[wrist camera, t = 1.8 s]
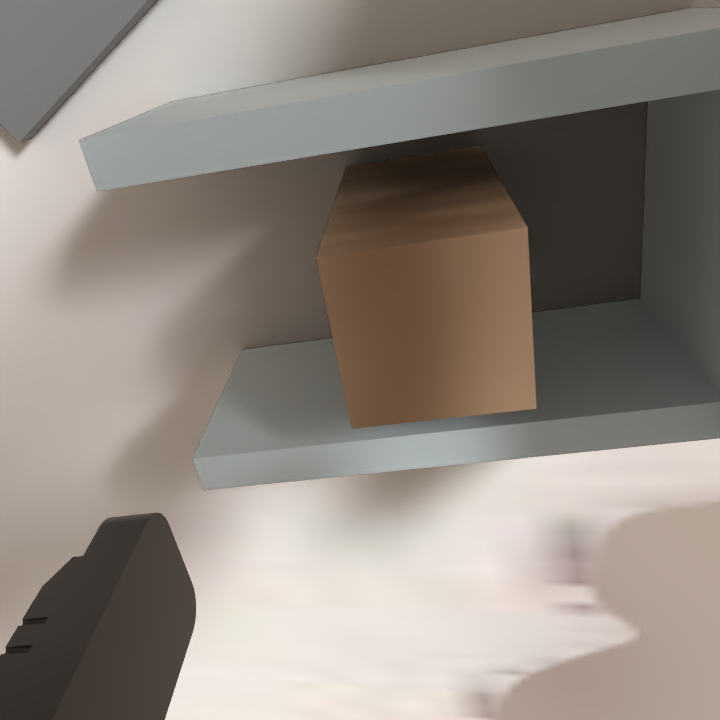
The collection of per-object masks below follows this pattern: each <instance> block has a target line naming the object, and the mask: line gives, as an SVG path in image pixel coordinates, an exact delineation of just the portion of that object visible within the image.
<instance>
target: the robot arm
mask: <svg viewBox="0 0 720 720" xmlns="http://www.w3.org/2000/svg"><path fill="white" fill-rule="evenodd" d="M195 617H196V599H195V592H194V588H193V585H192V582H191V579H190V577H189V574H188V572H187V569H186V567H185V564H184V562H183V559H182V557H181V554H180V551H179V549H178V546H177V544H176V541H175V539H174V536H173V534H172V531H171V529H170V526H169V524H168V521H167V520H166V518H165V517H164V516H163V515H162V514H160V513H150V514H140V515H130V516H121V517H111V518H108V519H106V520H105V521H104V522H103V523H102V524H101V526H100V527H99V529H98V531H97V533H96V534H95V536H94V538H93V540H92V541H91V543H90V545H89V547H88V548H87V550H86V552H85V554H84V555H83V556H80V557H73V558H72V559H70V560H69V561H68V562H67V563H66V564H65V565H64V566H63V567H62V568H61V569H60V570H59V571H58V572H57V573H56V574H55V575H54V576H53V577H52V578H51V579H50V580H49V581H48V582H47V583H45V584H44V585H43V586H42V588H41V590H40V591H39V593H38V595H37V596H36V598H35V600H34V601H33V603H32V604H31V606H30V608H29V609H28V611H27V613H26V614H25V616H24V618H23V625H22V626H18V628H17V629H16V631H15V632H14V634H13V636H12V637H11V639H10V641H9V642H8V644H7V646H6V653H5V654H1V655H0V720H165V717H166V714H167V711H168V707H169V704H170V701H171V698H172V695H173V692H174V689H175V686H176V683H177V679H178V676H179V673H180V670H181V667H182V664H183V661H184V658H185V655H186V651H187V648H188V645H189V642H190V639H191V636H192V633H193V629H194V624H195Z"/></svg>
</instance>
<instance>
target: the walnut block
mask: <svg viewBox="0 0 720 720" xmlns="http://www.w3.org/2000/svg"><path fill="white" fill-rule="evenodd" d="M316 261H317V266H318V271H319V276H320V281H321V285H322V290H323V295H324V300H325V304H326V309H327V314H328V319H329V323H330V328H331V333H332V338H333V343H334V347H335V352H336V357H337V362H338V366H339V371H340V376H341V381H342V385H343V390H344V395H345V400H346V405H347V409H348V414H349V419H350V424H351V428H352V429H356V428H365V427H374V426H383V425H392V424H401V423H410V422H420V421H429V420H438V419H447V418H456V417H465V416H474V415H483V414H493V413H502V412H511V411H520V410H529V409H537V408H536V387H535V367H534V346H533V325H532V305H531V284H530V264H529V243H528V227H527V225H526V223H525V222H524V220H523V218H522V216H521V215H520V213H519V211H518V209H517V208H516V206H515V204H514V203H513V201H512V199H511V197H510V196H509V194H508V192H507V190H506V189H505V187H504V185H503V183H502V182H501V180H500V178H499V177H498V175H497V173H496V171H495V170H494V168H493V166H492V164H491V163H490V161H489V159H488V157H487V156H486V154H485V152H484V150H483V149H482V147H481V145H479V146H473V147H467V148H461V149H454V150H448V151H442V152H436V153H429V154H423V155H417V156H411V157H405V158H398V159H392V160H386V161H380V162H374V163H367V164H361V165H355V166H349V167H346V168H345V171H344V174H343V177H342V180H341V183H340V186H339V189H338V192H337V195H336V198H335V201H334V204H333V207H332V210H331V213H330V216H329V219H328V222H327V225H326V228H325V231H324V234H323V237H322V240H321V243H320V246H319V249H318V252H317V255H316Z"/></svg>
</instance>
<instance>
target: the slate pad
mask: <svg viewBox="0 0 720 720" xmlns="http://www.w3.org/2000/svg"><path fill="white" fill-rule="evenodd" d="M156 1H157V0H0V124H1V125H2V126H3V127H4V128H5V129H6V130H7V131H8V132H9V133H10V134H11V135H12V136H13V137H14V138H15V139H16V140H17V141H18V142H19V143H20V142H23V141H25V140H28V139H31V138H32V137H33V136H34V135H35V134H36V133H37V131H38V130H39V129H40V128H41V127H42V126H43V125H44V124H45V123H46V122H47V120H48V119H49V118H50V117H51V116H52V115H53V114H54V113H55V112H56V111H57V110H58V108H59V107H60V106H61V105H62V104H63V103H64V102H65V101H66V100H67V99H68V97H69V96H70V95H71V94H72V93H73V92H74V91H75V90H76V89H77V88H78V87H79V85H80V84H81V83H82V82H83V81H84V80H85V79H86V78H87V77H88V76H89V74H90V73H91V72H92V71H93V70H94V69H95V68H96V67H97V66H98V65H99V63H100V62H101V61H102V60H103V59H104V58H105V57H106V56H107V55H108V54H109V53H110V51H111V50H112V49H113V48H114V47H115V46H116V45H117V44H118V43H119V42H120V40H121V39H122V38H123V37H124V36H125V35H126V34H127V33H128V32H129V31H130V30H131V28H132V27H133V26H134V25H135V24H136V23H137V22H138V21H139V20H140V19H141V17H142V16H143V15H144V14H145V13H146V12H147V11H148V10H149V9H150V8H151V6H152V5H153V4H154V3H155V2H156Z"/></svg>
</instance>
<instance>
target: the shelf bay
mask: <svg viewBox="0 0 720 720" xmlns="http://www.w3.org/2000/svg"><path fill="white" fill-rule="evenodd" d="M646 101H648V110H647V138H646V165H645V193H644V220H643V247H642V275H641V299H633V300H626V301H618V302H610V303H602V304H594V305H587V306H579V307H571V308H563V309H555V310H548V311H540V312H532V325H533V346H534V367H535V387H536V408H537V409H529V410H520V411H511V412H502V413H493V414H483V415H474V416H465V417H456V418H447V419H438V420H429V421H420V422H410V423H401V424H392V425H383V426H374V427H365V428H356V429H352V428H351V424H350V419H349V414H348V409H347V405H346V400H345V395H344V390H343V385H342V381H341V376H340V371H339V366H338V362H337V357H336V352H335V347H334V343H333V338H329V339H321V340H313V341H306V342H298V343H290V344H282V345H274V346H267V347H259V348H251V349H243V350H242V351H241V353H240V355H239V357H238V360H237V362H236V364H235V366H234V368H233V371H232V373H231V375H230V377H229V379H228V381H227V384H226V386H225V388H224V390H223V392H222V395H221V397H220V399H219V401H218V403H217V406H216V408H215V410H214V412H213V414H212V416H211V419H210V421H209V423H208V425H207V427H206V430H205V432H204V434H203V436H202V438H201V441H200V443H199V445H198V447H197V449H196V451H195V454H194V456H193V458H192V460H193V463H194V465H195V468H196V471H197V474H198V477H199V479H200V482H201V485H202V488H203V490H211V489H221V488H231V487H241V486H251V485H261V484H271V483H281V482H290V481H300V480H310V479H320V478H330V477H340V476H350V475H360V474H370V473H380V472H390V471H400V470H409V469H419V468H429V467H439V466H449V465H459V464H469V463H479V462H489V461H499V460H509V459H519V458H528V457H538V456H548V455H558V454H568V453H578V452H588V451H598V450H608V449H618V448H628V447H638V446H647V445H657V444H667V443H677V442H687V441H697V440H707V439H717V438H720V8H707V7H693V8H687V9H682V10H676V11H671V12H665V13H660V14H654V15H649V16H643V17H638V18H632V19H626V20H621V21H615V22H610V23H604V24H599V25H593V26H588V27H582V28H576V29H571V30H565V31H560V32H554V33H549V34H543V35H538V36H532V37H526V38H521V39H515V40H510V41H504V42H499V43H493V44H488V45H482V46H477V47H471V48H465V49H460V50H454V51H449V52H443V53H438V54H432V55H427V56H421V57H415V58H410V59H404V60H399V61H393V62H388V63H382V64H377V65H371V66H365V67H360V68H354V69H349V70H343V71H338V72H332V73H327V74H321V75H316V76H310V77H304V78H299V79H293V80H288V81H282V82H277V83H271V84H266V85H260V86H254V87H249V88H243V89H238V90H232V91H227V92H221V93H216V94H210V95H204V96H199V97H193V98H188V99H182V100H177V101H171V102H169V103H167V104H164V105H162V106H159V107H157V108H155V109H152V110H150V111H147V112H145V113H143V114H140V115H138V116H135V117H133V118H131V119H128V120H126V121H124V122H121V123H119V124H116V125H114V126H112V127H109V128H107V129H104V130H102V131H100V132H97V133H95V134H92V135H90V136H88V137H85V138H83V139H81V140H79V143H80V145H81V148H82V151H83V154H84V157H85V159H86V162H87V165H88V168H89V171H90V173H91V176H92V179H93V182H94V185H95V188H96V190H97V192H98V191H104V190H110V189H116V188H122V187H128V186H135V185H141V184H147V183H153V182H159V181H165V180H171V179H177V178H183V177H189V176H195V175H201V174H208V173H214V172H220V171H226V170H232V169H238V168H244V167H250V166H256V165H262V164H268V163H274V162H281V161H287V160H293V159H299V158H305V157H311V156H317V155H323V154H329V153H335V152H341V151H348V150H354V149H360V148H366V147H372V146H378V145H384V144H390V143H396V142H402V141H408V140H414V139H421V138H427V137H433V136H439V135H445V134H451V133H457V132H463V131H469V130H475V129H481V128H487V127H494V126H500V125H506V124H512V123H518V122H524V121H530V120H536V119H542V118H548V117H554V116H560V115H567V114H573V113H579V112H585V111H591V110H597V109H603V108H609V107H615V106H621V105H627V104H633V103H640V102H646Z"/></svg>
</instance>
